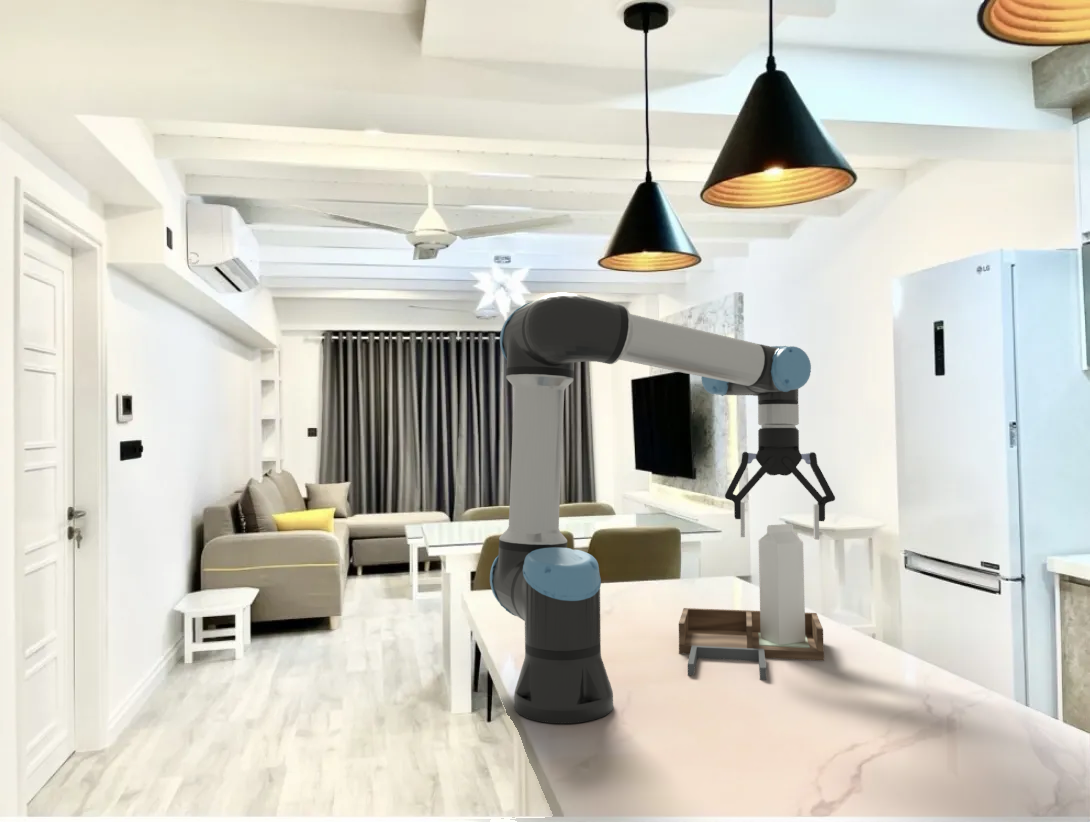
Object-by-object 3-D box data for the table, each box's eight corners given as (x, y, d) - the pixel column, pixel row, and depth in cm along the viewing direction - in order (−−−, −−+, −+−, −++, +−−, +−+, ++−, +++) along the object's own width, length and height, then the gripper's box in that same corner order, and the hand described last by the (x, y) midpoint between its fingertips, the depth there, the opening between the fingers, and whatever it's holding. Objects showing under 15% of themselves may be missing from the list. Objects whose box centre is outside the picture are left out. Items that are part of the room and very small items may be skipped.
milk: (760, 638, 155) (756, 523, 156) (786, 634, 157) (782, 522, 158) (779, 645, 149) (776, 526, 150) (806, 641, 151) (802, 524, 152)
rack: (824, 660, 145) (823, 630, 145) (679, 653, 151) (678, 624, 151) (817, 640, 159) (816, 612, 159) (684, 634, 165) (683, 608, 165)
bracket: (766, 679, 134) (765, 667, 134) (687, 675, 137) (687, 663, 137) (764, 659, 146) (764, 648, 146) (691, 656, 149) (691, 645, 149)
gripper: (844, 427, 155) (845, 537, 154) (713, 427, 161) (713, 533, 160) (849, 426, 148) (850, 542, 147) (711, 426, 154) (712, 537, 153)
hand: (779, 537), depth 154 cm, fingers open, 13 cm apart
